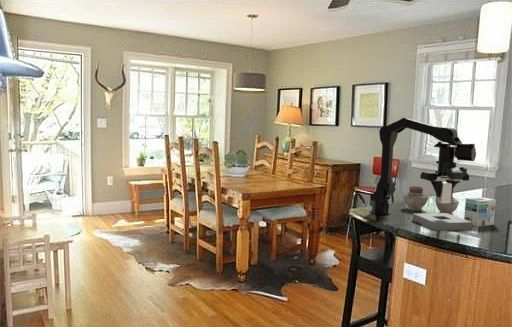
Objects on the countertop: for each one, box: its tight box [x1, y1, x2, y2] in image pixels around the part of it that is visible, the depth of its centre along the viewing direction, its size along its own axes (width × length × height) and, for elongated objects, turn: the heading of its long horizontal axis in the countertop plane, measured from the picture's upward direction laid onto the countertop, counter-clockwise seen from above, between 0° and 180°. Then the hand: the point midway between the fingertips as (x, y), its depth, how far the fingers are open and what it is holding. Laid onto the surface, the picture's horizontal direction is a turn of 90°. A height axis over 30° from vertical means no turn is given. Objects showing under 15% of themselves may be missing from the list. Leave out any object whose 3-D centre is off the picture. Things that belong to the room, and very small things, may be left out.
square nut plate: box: [412, 212, 473, 231], centre depth 175 cm, size 16×16×3 cm
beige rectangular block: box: [435, 181, 452, 203], centre depth 174 cm, size 4×4×8 cm
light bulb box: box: [463, 196, 497, 227], centre depth 179 cm, size 11×7×11 cm, turn 116°
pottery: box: [402, 185, 460, 215], centre depth 200 cm, size 11×25×12 cm, turn 49°
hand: (443, 197), depth 174 cm, fingers closed on beige rectangular block, 4 cm apart
